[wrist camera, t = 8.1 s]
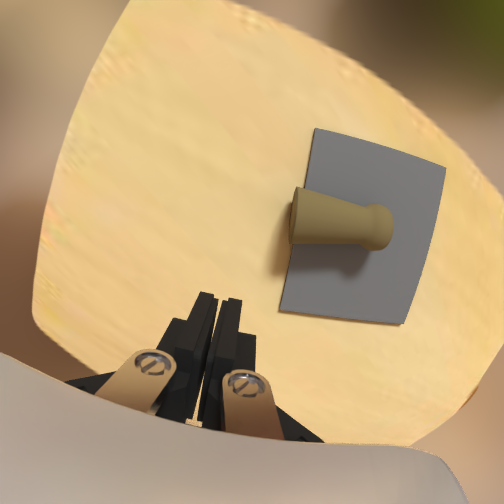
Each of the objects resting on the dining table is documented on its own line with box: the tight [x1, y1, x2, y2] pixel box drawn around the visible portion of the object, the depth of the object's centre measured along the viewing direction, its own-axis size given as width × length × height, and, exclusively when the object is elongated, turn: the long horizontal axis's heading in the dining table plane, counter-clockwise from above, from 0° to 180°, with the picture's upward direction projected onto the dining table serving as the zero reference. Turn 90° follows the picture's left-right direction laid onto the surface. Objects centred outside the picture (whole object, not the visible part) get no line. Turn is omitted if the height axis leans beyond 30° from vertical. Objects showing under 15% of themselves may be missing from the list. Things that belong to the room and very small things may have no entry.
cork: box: [289, 187, 394, 251], centre depth 31 cm, size 6×6×11 cm
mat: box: [280, 128, 446, 324], centre depth 34 cm, size 22×18×1 cm
